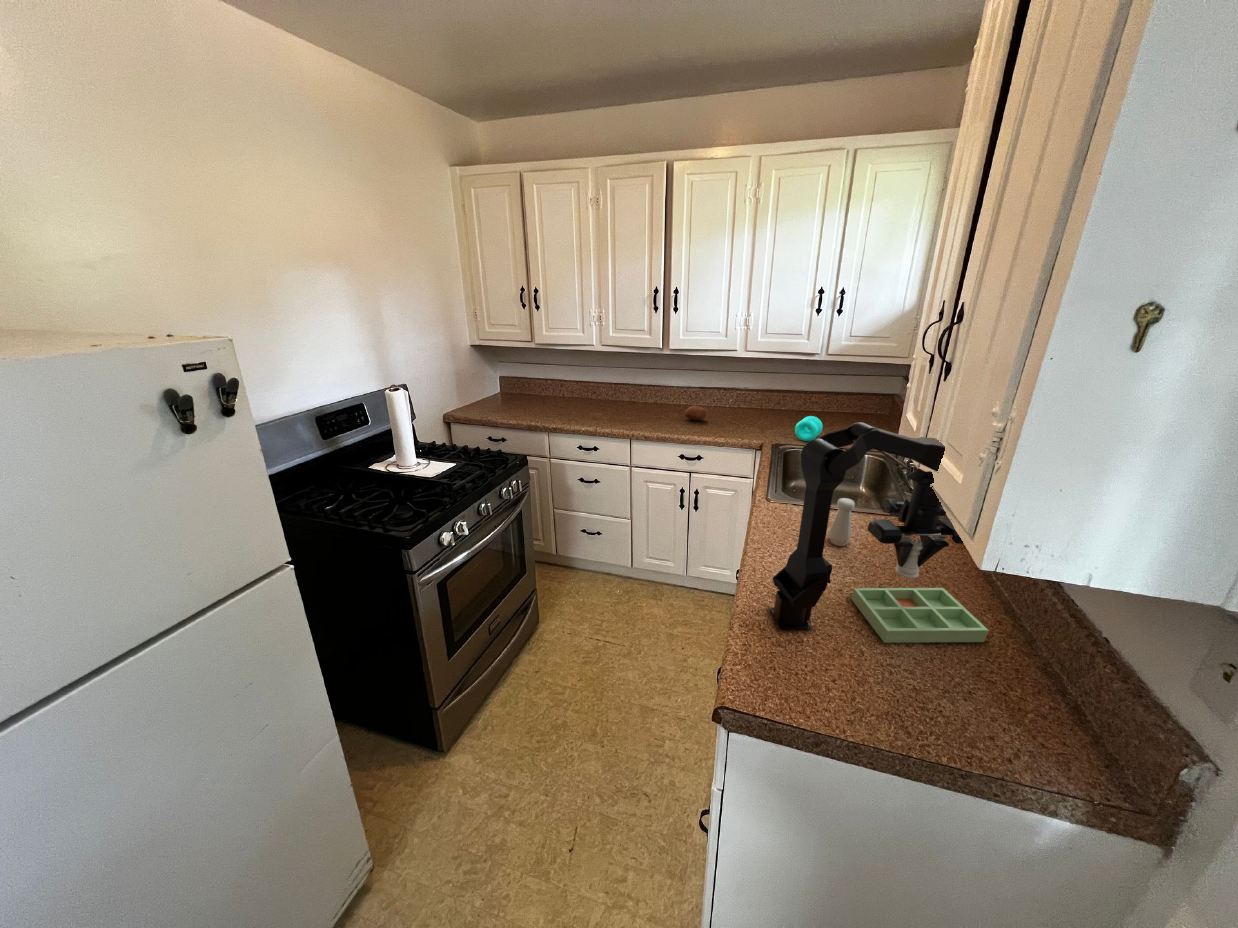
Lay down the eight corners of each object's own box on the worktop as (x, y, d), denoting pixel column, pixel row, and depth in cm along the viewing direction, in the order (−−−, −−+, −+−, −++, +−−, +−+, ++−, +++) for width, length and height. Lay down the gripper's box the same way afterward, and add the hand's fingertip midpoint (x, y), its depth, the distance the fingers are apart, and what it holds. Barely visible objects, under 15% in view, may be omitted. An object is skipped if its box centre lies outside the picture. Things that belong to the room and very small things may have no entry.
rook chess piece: (897, 565, 107) (905, 533, 104) (919, 572, 104) (929, 540, 101) (892, 574, 104) (901, 542, 101) (916, 582, 101) (925, 549, 98)
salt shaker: (827, 545, 131) (835, 502, 126) (826, 535, 136) (834, 494, 131) (850, 549, 129) (859, 506, 124) (848, 539, 134) (857, 497, 129)
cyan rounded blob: (821, 438, 219) (825, 417, 215) (815, 444, 211) (819, 422, 208) (799, 434, 224) (802, 413, 221) (792, 439, 217) (795, 418, 213)
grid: (884, 642, 96) (887, 630, 95) (851, 598, 109) (853, 587, 108) (984, 642, 97) (988, 630, 95) (939, 598, 110) (943, 587, 108)
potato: (707, 422, 240) (708, 408, 238) (686, 422, 240) (687, 408, 237) (704, 418, 248) (705, 404, 246) (683, 418, 248) (684, 404, 245)
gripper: (945, 484, 105) (927, 546, 111) (862, 484, 105) (848, 546, 110) (982, 507, 95) (960, 573, 101) (890, 507, 94) (873, 574, 100)
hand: (908, 565), depth 103 cm, fingers closed on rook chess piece, 3 cm apart
